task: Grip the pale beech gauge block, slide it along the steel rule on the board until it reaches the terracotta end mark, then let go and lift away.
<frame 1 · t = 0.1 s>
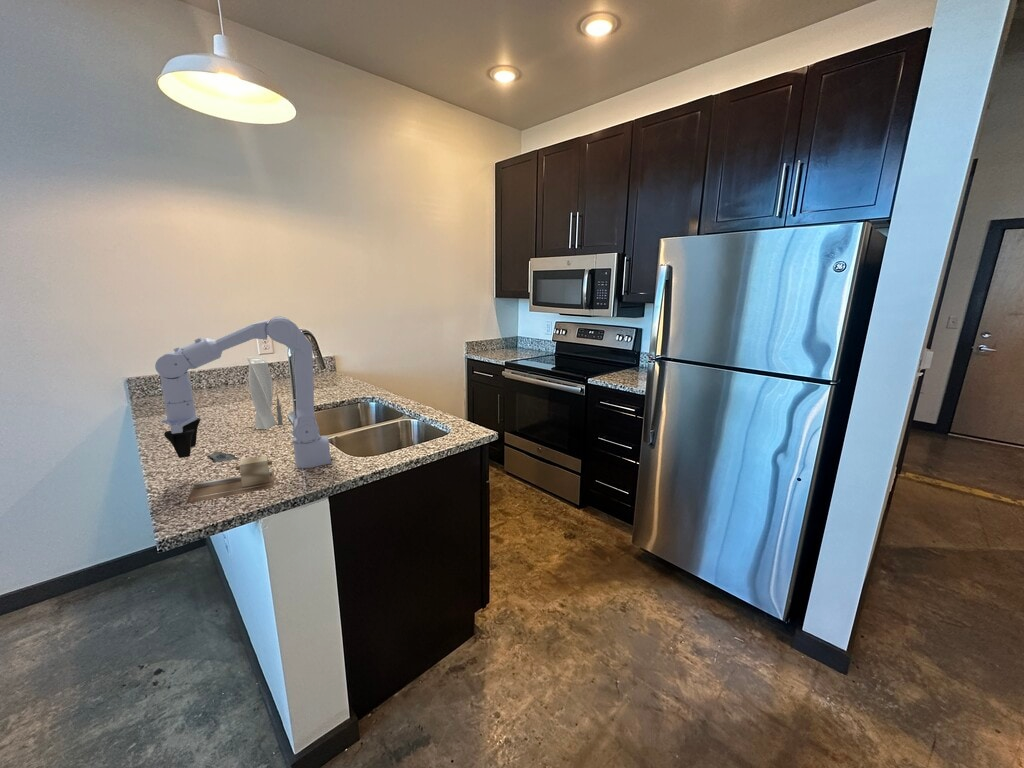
hand: (187, 451, 105), 10 cm above the worktop, tool pointing down, fingers open, 7 cm apart
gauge: (256, 481, 108), point 1 cm above the worktop, touching board
board: (234, 490, 106), on the worktop
driftwood: (226, 464, 124), on the worktop
skyscraper: (267, 428, 156), on the worktop
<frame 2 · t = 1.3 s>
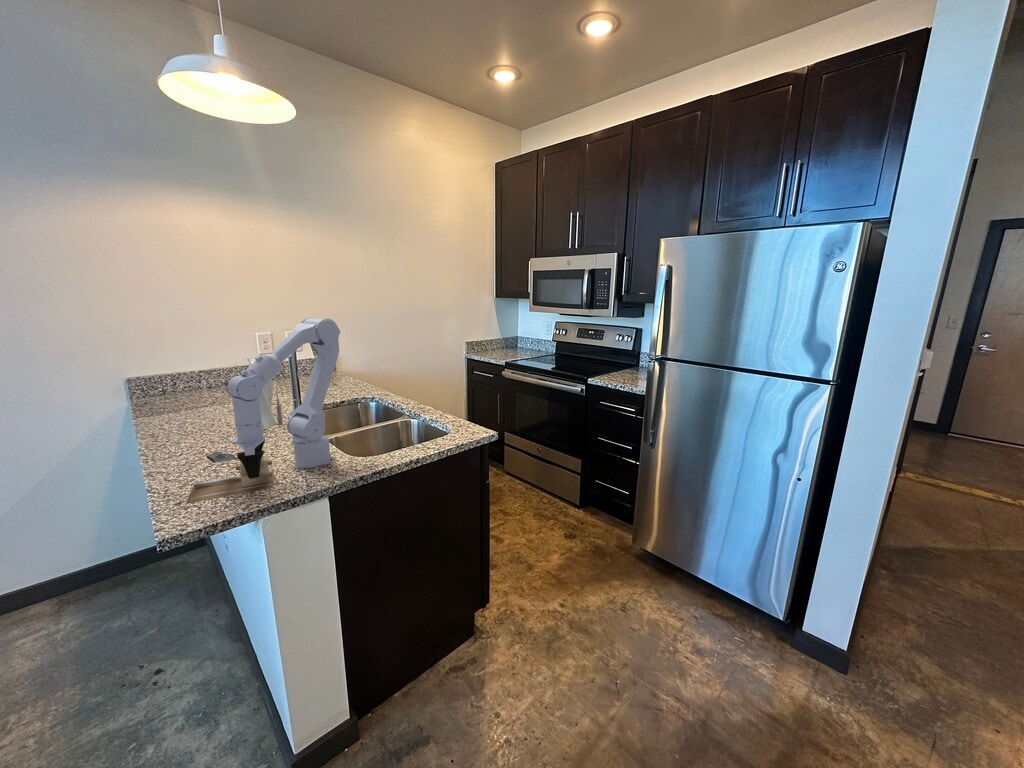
hand: (254, 472, 107), 4 cm above the worktop, tool pointing down, fingers open, 7 cm apart
nothing on the worktop moved.
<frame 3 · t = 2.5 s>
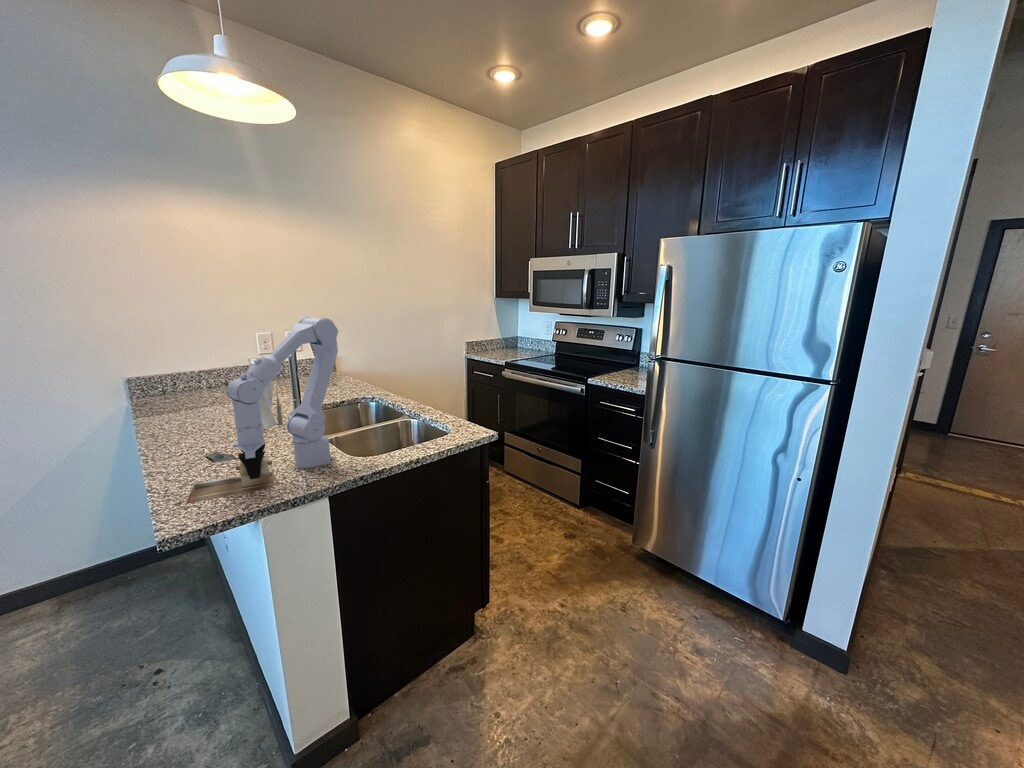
hand: (255, 474, 108), 3 cm above the worktop, tool pointing down, fingers closed on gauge, 4 cm apart
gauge: (256, 481, 108), point 1 cm above the worktop, touching board, gripper
everything else where it was.
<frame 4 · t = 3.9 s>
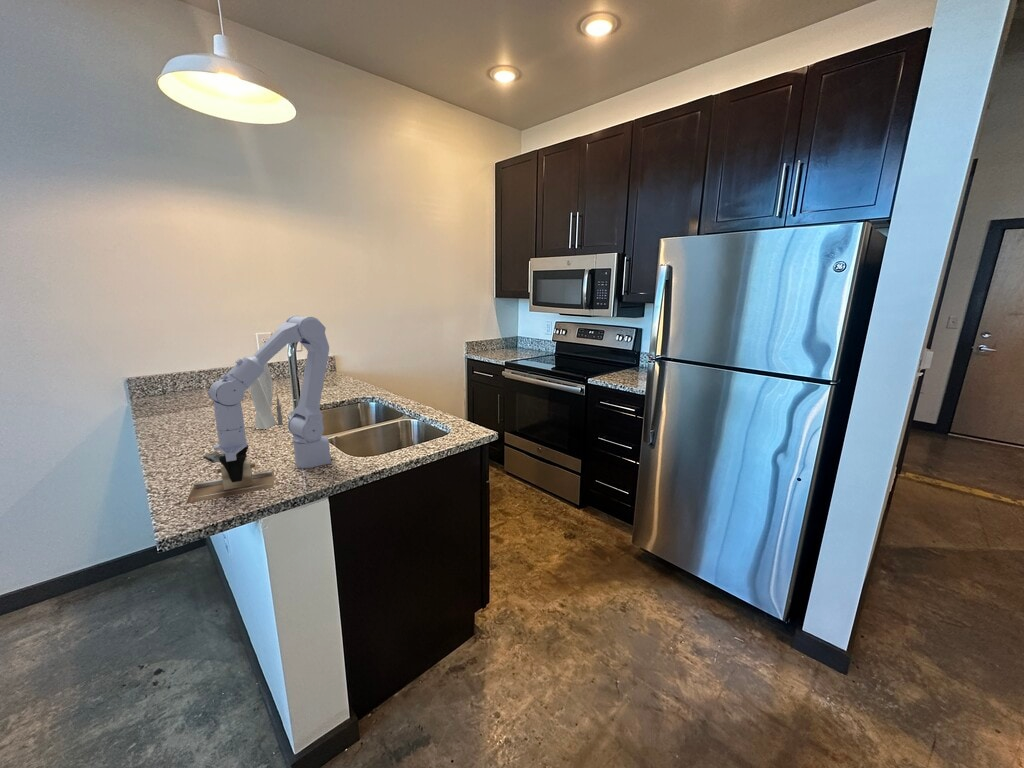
hand: (237, 477, 106), 3 cm above the worktop, tool pointing down, fingers closed on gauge, 4 cm apart
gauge: (238, 484, 106), point 2 cm above the worktop, touching gripper
everything else where it was.
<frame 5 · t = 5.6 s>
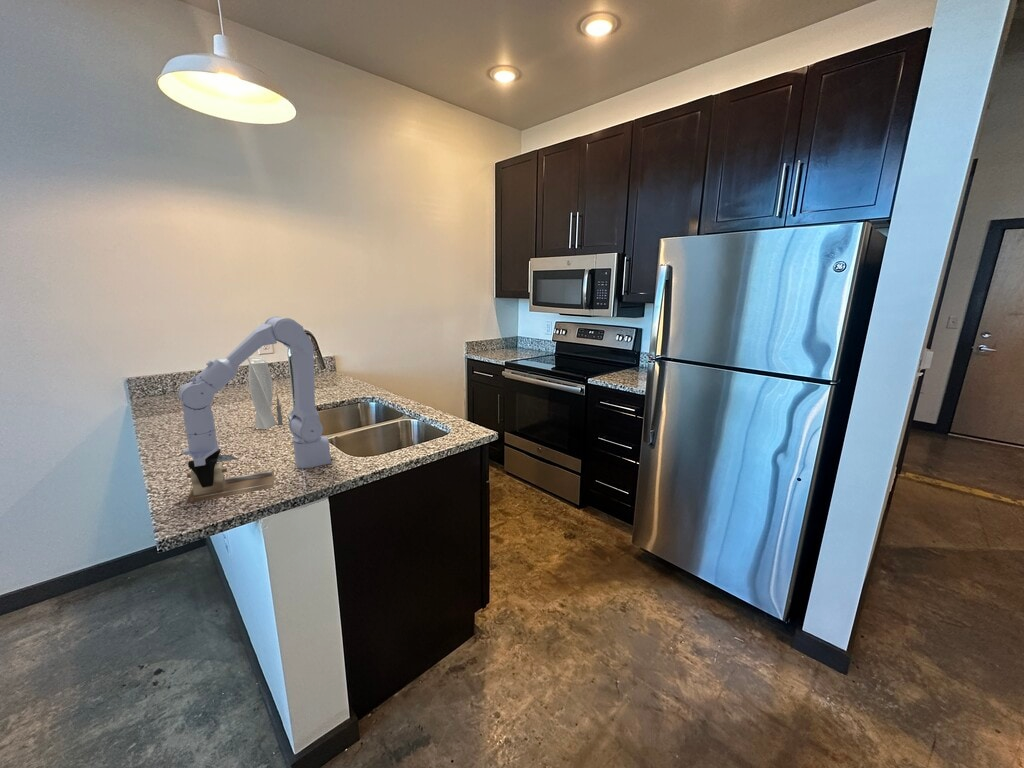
hand: (209, 482, 103), 3 cm above the worktop, tool pointing down, fingers closed on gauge, 4 cm apart
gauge: (210, 489, 103), point 2 cm above the worktop, touching gripper
everything else where it was.
when the fingers open (3 cm above the worktop, at t = 6.5 s): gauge stays where it is, resting on board.
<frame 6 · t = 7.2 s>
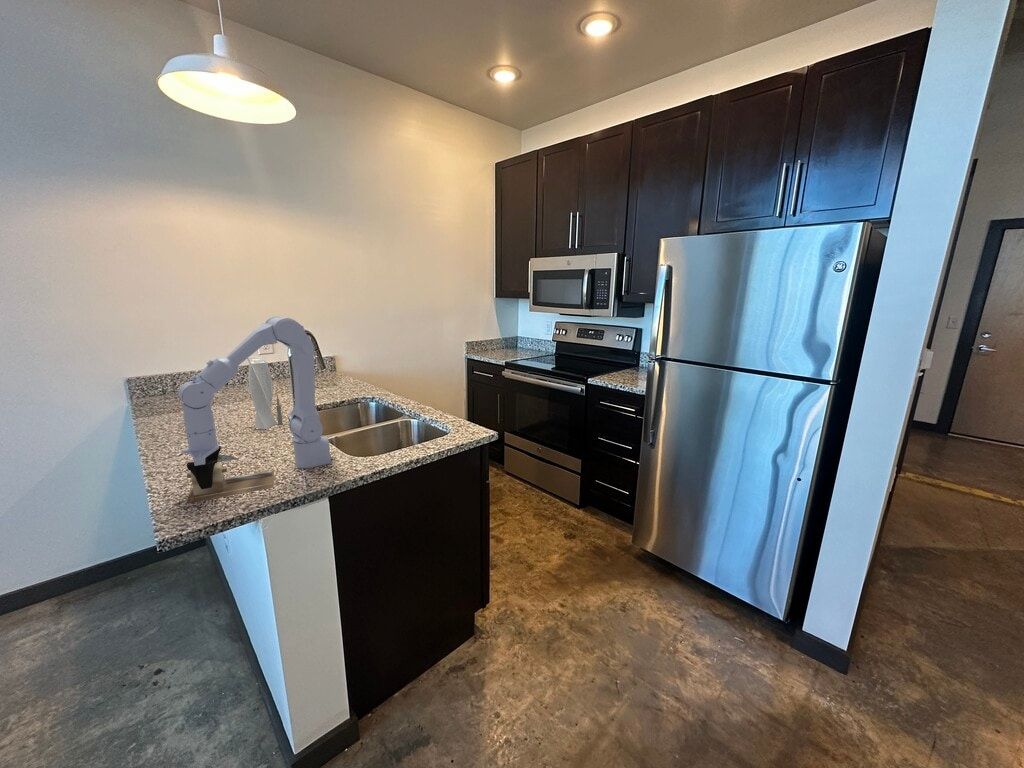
hand: (208, 481, 103), 4 cm above the worktop, tool pointing down, fingers open, 7 cm apart
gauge: (210, 489, 103), point 1 cm above the worktop, touching board
everything else where it was.
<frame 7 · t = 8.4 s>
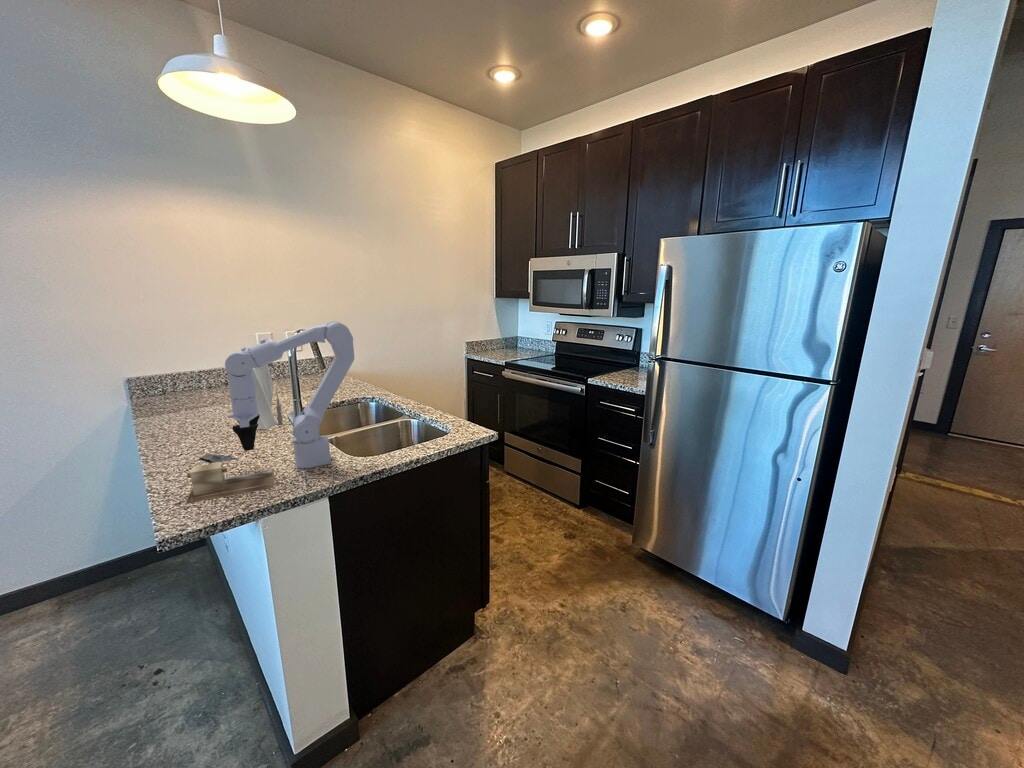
hand: (249, 445, 112), 9 cm above the worktop, tool pointing down, fingers open, 7 cm apart
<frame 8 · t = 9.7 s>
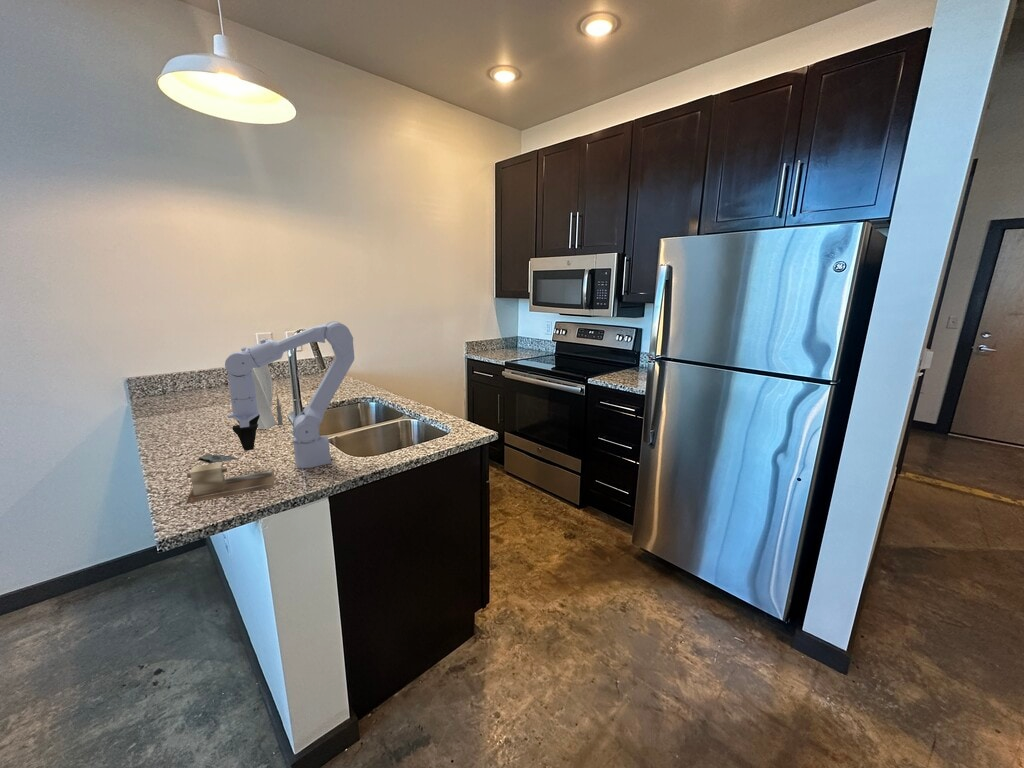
hand: (249, 445, 112), 9 cm above the worktop, tool pointing down, fingers open, 7 cm apart
at the end: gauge 0.2 cm from the target spot on the board, point 1.5 cm above the board's base; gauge tilted 0°; the gripper is holding nothing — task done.
